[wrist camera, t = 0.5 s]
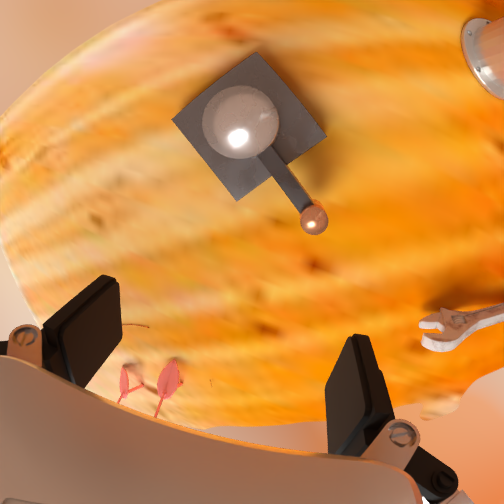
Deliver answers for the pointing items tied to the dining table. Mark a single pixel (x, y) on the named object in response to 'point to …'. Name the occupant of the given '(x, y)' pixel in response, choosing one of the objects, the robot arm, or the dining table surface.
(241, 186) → the base
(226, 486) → the robot arm
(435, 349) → the wrench
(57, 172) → the dining table surface
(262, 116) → the ball-ended lever handle
